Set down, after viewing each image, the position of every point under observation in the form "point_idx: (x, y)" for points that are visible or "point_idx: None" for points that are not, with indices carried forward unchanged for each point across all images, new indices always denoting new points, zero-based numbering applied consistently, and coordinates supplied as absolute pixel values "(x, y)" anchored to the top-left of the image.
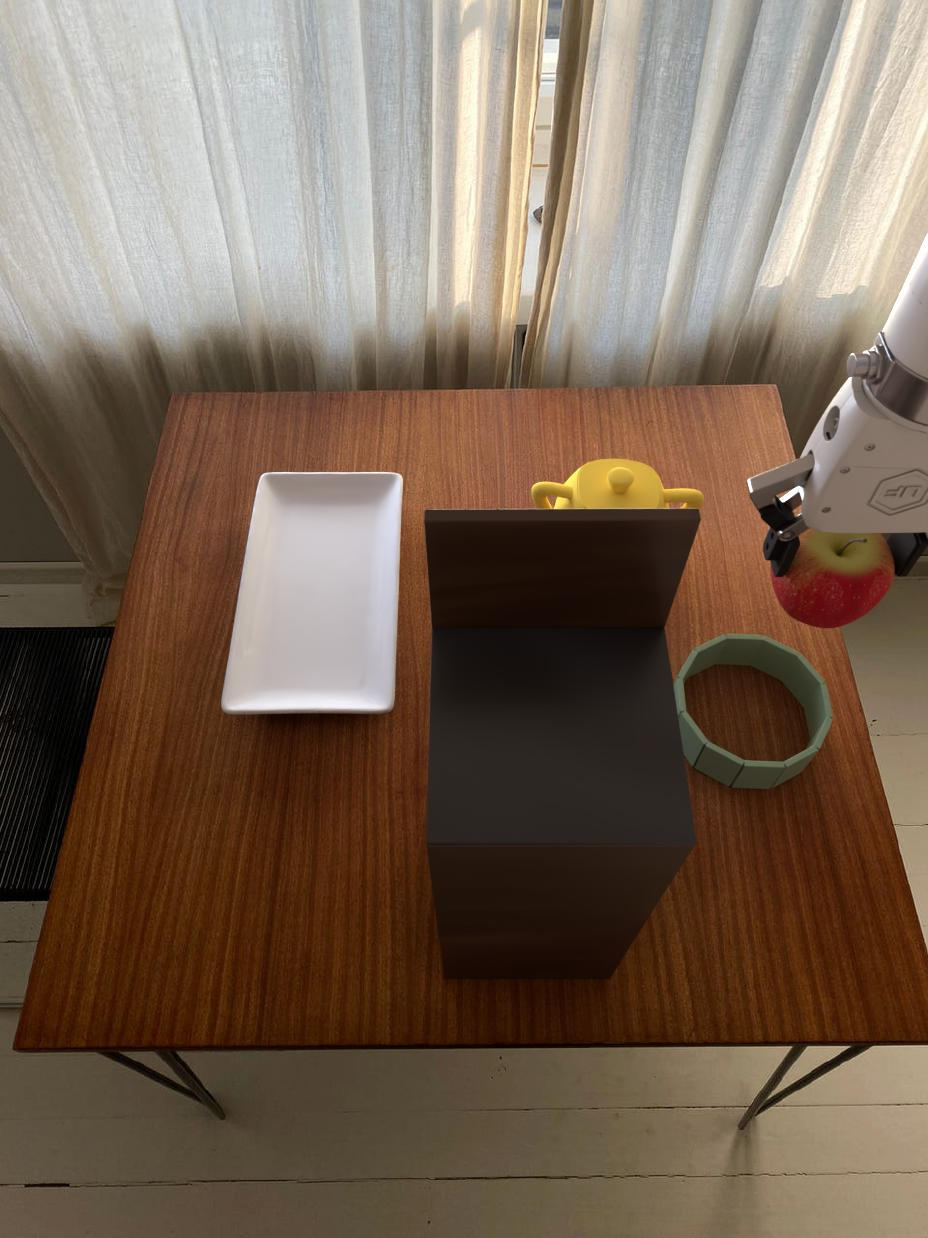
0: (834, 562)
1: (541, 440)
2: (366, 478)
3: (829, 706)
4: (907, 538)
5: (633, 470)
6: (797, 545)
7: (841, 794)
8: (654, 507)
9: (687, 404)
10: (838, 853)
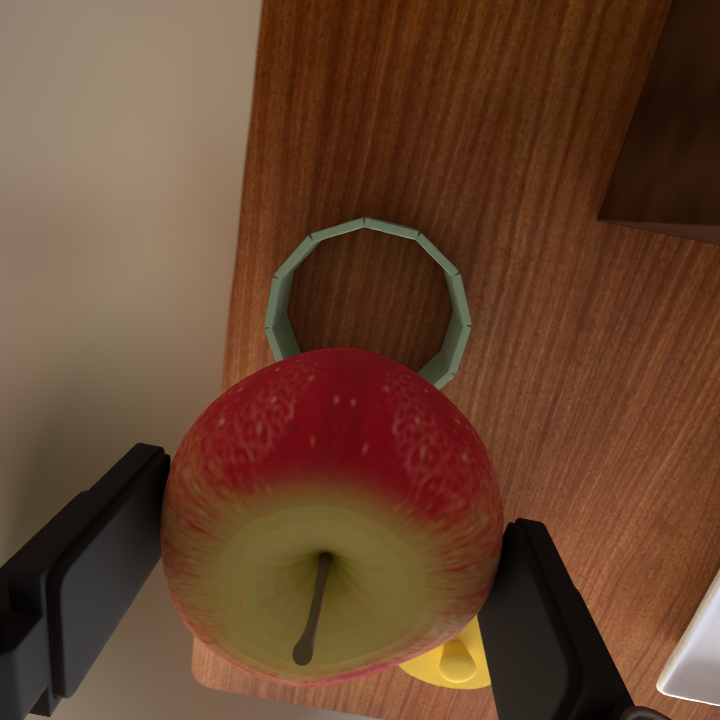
0: (383, 543)
1: None
2: (699, 693)
3: (272, 293)
4: (93, 590)
5: (424, 666)
6: (592, 675)
7: (282, 191)
8: None
9: (281, 692)
10: (315, 112)
